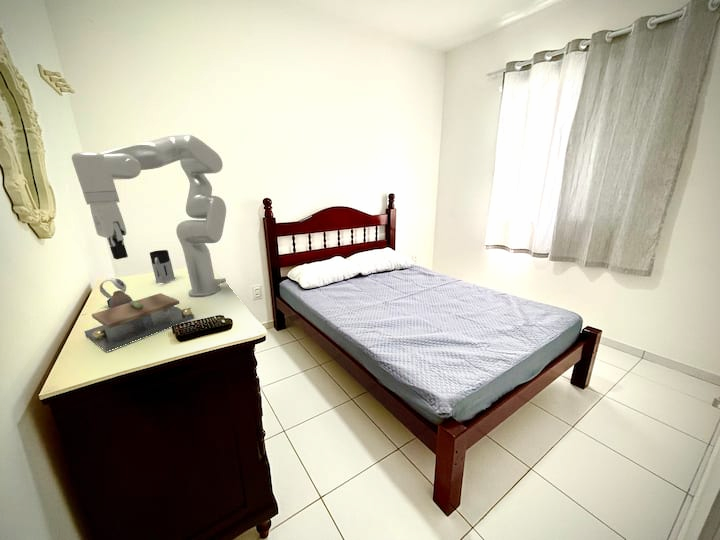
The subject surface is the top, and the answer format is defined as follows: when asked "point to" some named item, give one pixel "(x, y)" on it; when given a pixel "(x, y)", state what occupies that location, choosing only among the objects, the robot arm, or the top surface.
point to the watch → (117, 283)
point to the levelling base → (138, 327)
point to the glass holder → (162, 266)
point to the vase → (119, 299)
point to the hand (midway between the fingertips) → (121, 257)
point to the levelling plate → (134, 310)
